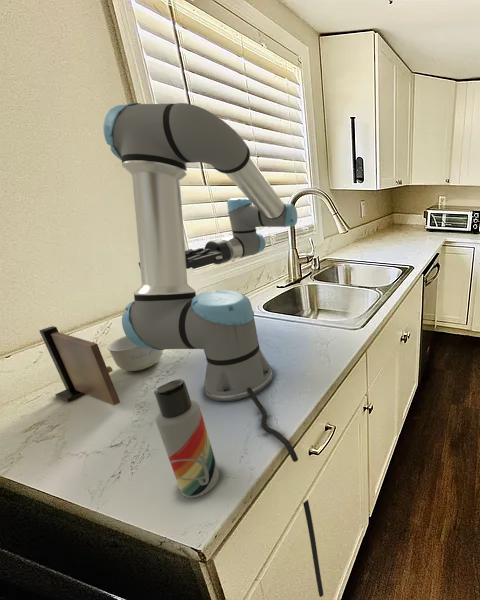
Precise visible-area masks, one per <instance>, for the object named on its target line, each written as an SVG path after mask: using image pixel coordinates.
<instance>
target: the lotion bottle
mask: <svg viewBox="0 0 480 600" xmlns="http://www.w3.org/2000/svg"><path fill="white" fill-rule="evenodd" d="M154 396H155V399H156V403H157V405H158V408H159V413H158V414H157V415H156V417H155V423H156V426H157V431H158V432H159V435H160V438H161V441H162V444H163V446H164V449H165V452H166V455H167V458H168V460H169V461H168V462H169V463H170V466H171V469H172V471H173V475H174V477H175V480H176V483H177V486H178V488H179V490H180V493H181V495H182V496H183V497H185V498H188V499H192V498H193V499H194V498H198V497H201V496H203V495H205V494H207V493H208V492H209V491H211V490H212V489H213V488H214V487H215V486H216V484H217V483H218V481H219V478H220V476H219V475H220V474H219V469H218V465H217V462H216V458H215V454H214V452H213V448H212V445H211V440H210V438H209V434H208V430H207V426H206V424H205V420H204V417H203V413H202V410H201V406H200V404H199V403H198V402H197V401H195V400H191V397H190V393H189V391H188V388H187V385H186V382H185V380H184V379H174V380H172V381H169V382H167V383H164V384H162V385H160V386H159V387H157V388H156V389H155V390H154Z"/></svg>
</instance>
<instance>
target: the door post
mask: <svg viewBox="0 0 480 600" xmlns="http://www.w3.org/2000/svg"><path fill="white" fill-rule="evenodd" d="M38 331H39V333H40V336H41V338H42V340H43V342H44V344H45V347H46V349H47V351H48V353H49V355H50V357H51V360H52V362H53V364H54V366H55V369H56V370H57V373H58V375H59V378H60V379H61V381H62V384H63V386H64V388H65V389H63V390H62V391H60V392H57V393H56V394H55V397H56V398H57V399H60V400H62V401H65V402H67V403H70V402H71V401H74V400H75V399H78V398H79V397H81V396H84V395H85V394H84V393H82V392H79V391H77V390H75V388H74V386H73V383H72V381H71V379H70V377H69V375H68V372H67V370H66V368H65V366H64V363H63V361H62V359H61V357H60V354H59V352H58V350H57V348H56V346H55V343H54V341H53V339H52V337H51V334H52V333H55V332H59V330H58V327H57V326H53V325H52V326H49V327H45V328H42V329H39V330H38Z"/></svg>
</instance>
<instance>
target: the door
mask: <svg viewBox="0 0 480 600" xmlns="http://www.w3.org/2000/svg"><path fill="white" fill-rule="evenodd" d="M51 337H52V339H53V341H54V343H55V346H56V348H57V350H58V352H59V354H60V357H61V359H62V361H63V363H64V366H65V368H66V370H67V372H68V375H69V377H70V379H71V381H72V383H73V386H74V388H75V390H77V391H79V392H82V393H84V395H86V396H89V397H91V398H95V399H97V400H99V401H102V402H105V403H108V404H110V405H113V406H117V405H118V404H120V403H121V400H120V398H119V396H118V392H117V390H116V387H115V385H114V382H113V380H112V378H111V374H110V373H112V372H113V371H114V370H113V367H111V366H110V365H109V366H107V365H106V362H105V360H104V357H103V355H102V352H101V350H100V347H99V344H98V343H96V342H93V341H89V340H87V339H83V338H79V337H76V336H73V335H69V334H65V333H63V332H59V331H58V332H55V333H52V334H51Z"/></svg>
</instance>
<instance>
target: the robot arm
mask: <svg viewBox="0 0 480 600" xmlns="http://www.w3.org/2000/svg"><path fill="white" fill-rule="evenodd" d="M103 119H104V120H103V124H102V126H103V127H102V128H103V136H104V139H105V142H106V144H107V145H108V146H110V148H109V150H110V151H111V153H112V154H113V155H114V156H115V157H116V158H117V159H119V160H120V161H121V166H122V168H124V169H125V170H126V171H127V172H128V173H130V175H131V178H132V187H133V188H132V189H133V199H134V201H133V203H134V211H135V223H136V234H137V245H138V246H137V247H138V256H139V262H138V266H139V270H140V278H141V286H140V287H139V288H138V289H137V290H135V292H133V298H134V299H133V301H131V302H129V303H128V304H127V305H126V306H125V308H124V309H125V311H123V312H122V316H121V325H122V330H123V332H124V334H125V336H127V338H128V339H129V340H130V341H131V342H132V343H134V344H135V345H137V346H138V347H141V348H145V349H155V350H162V351H164V350H203V352H204V355H205V359H206V369H205V378H204V382H203V383H204V390H205V395H206V396H207V397H208V398H209V399H210V400H213V401H217V402H235V401H239V400H244V399H247V398H251V400H252V401H253V403H254V404H255V406H256V408H257V409H258V411H259V412H260V414H261V422H260V424H261V428H262V430H263V431H264V432H266V433H268V434H270V435H271V436H274V437H275V438H276V439H277V440H278V441H279V442H281V444H283V446H284V447H285V448H286V450H287V452H288V453H289V454H288V455H289V456H290V458H291V461H292V462H294V463H296V462H298V460H299V458H298V454H297V453H296V450H295V449H294V447H293V445H292V444H291V442H290V441H289V440H288V439H287V438H286V437H285V436H284V435H283V434H282V433H280V432H279V431H277V430H276V429H274V428H271V427H269V426H268V424H267V420H268V419H267V418H268V415H267V411H266V409H265V407H264V406H263V404H262V403H261V402H260V400H259V398H258V397H257V396H256V395H257V394H258V393H259V392H261V391H262V390H265V388H266V387H268V385H269V384H270V383H271V381H272V379H273V370H272V367H271V365H270V363H269V361H268V360H267V358H266V356H265V355H264V354H263V352H262V350H261V348H260V343H259V337H258V331H257V326H256V321H255V312H254V310H253V306H252V304H251V299H250V298H249V297H248V296H247V295H245V294H244V293H241V292H240V291H236V290H229V289H217V290H214V291H213V290H209V291H208V290H207V291H204V292H201V293H198V294H197V292H196V289H195V288H193V287H192V286H190V285H189V284H188V283H189V282H188V273H187V271H188V270H189V269H193V270H196V269H199V268H202V267H205V266H208V265H212V264H213V265H222V264H225V263H228V262H231V263H233V262H235V260H238V259H242V258H246V257H250V256H254V255H257V254H259V253H261V252H263V251H264V250H265V248H266V240H265V238H264V236H263V235H262V233H260V232H257V228H286V227H287V228H289V227H294V226H296V225H297V223H298V210H297V208H296V205H294V204H293V203H288V202H286V203H284V201H282V199H281V198H280V196H279V194H277V192H276V191H275V190H274V188H273V186H272V185H271V183H270V182H269V181H268V180H267V178H266V177H265V175H264V174H263V172H262V171H261V170H260V169H259V167H258V166H257V164H256V163H255V162H254V160H253V159H252V157H251V151H250V148H249V146H248V145H247V143H246V142H245V140H244V139H243V138H242V137H241V135H240V134H239V133H238V132H237V131H236V130H235V129H234V128H233V127H231V126H230V125H229V124H228V123H227V122H225V120H223V119H221V118H220V117H219V116H218V115H216V114H214V113H213V112H211V111H209V110H207V109H205V108H204V107H200V106H198V105H195V104H192V103H187V102H186V103H185V102H177V103H141V102H131V103H127V104H118V105H116V106H113V107H112V108H111V109H109V110H108V111H107V113H106V115H105V116H104V118H103ZM191 163H192V164H194V163H203V164H207V165H210V166H212V167H213V168H214V169H215V170H216V171H217V172H219V173H221V174H224V175H226V176H227V177H228V179H230V180H231V181H232V183H233V184H234V185H235V186H236V187H237V188H238V189H239V190H240V191H241V193H242V194H244V196H245V197H233V198H229V199H228V200H227V201H226V204H227V214H228V217H229V222H230V227H231V233H232V236H227V237H223V238H219V239H215V240H209V241H207V243H205V246H204V247H200V248H196V249H192V248H189V249H187V250H186V247H185V232H184V220H183V208H182V207H183V206H182V204H183V203H182V193H181V181H182V180H183V179H184V178H185V177H186V176H187V175H188V170H187V169H188V168H187V167H188V166H187V164H191ZM302 504H303V505H302V506H303V509H304V514H305V519H306V524H307V530H308V536H309V543H310V549H311V554H312V561H313V567H314V573H315V579H316V587H317V591H318V597H320V598H322V597H323V596H324V588H323V582H322V576H321V569H320V563H319V562H320V561H319V555H318V548H317V542H316V541H317V540H316V535H315V529H314V523H313V519H312V513H311V508H310V507H311V506H310V502H309V499H306V500H305V501H304V502H303V503H302Z"/></svg>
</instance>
